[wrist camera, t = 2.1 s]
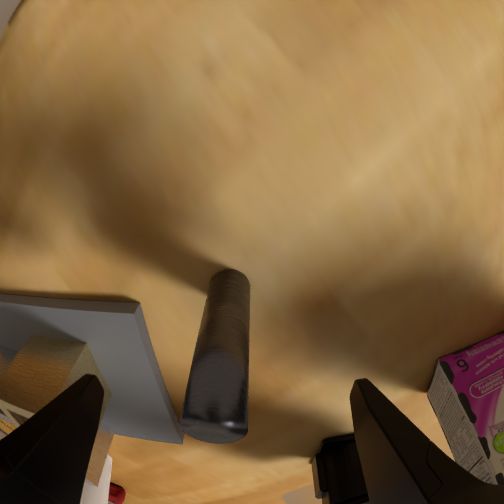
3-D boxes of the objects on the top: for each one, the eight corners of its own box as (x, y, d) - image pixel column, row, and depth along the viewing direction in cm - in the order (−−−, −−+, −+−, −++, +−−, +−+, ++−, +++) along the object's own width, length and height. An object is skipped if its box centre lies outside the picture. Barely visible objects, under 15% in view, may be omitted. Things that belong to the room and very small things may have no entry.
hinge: (86, 343, 15) (46, 417, 10) (136, 435, 20) (121, 493, 15) (-14, 324, 16) (-53, 372, 10) (41, 411, 20) (19, 456, 15)
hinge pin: (249, 269, 14) (246, 411, 7) (250, 303, 15) (248, 444, 8) (208, 269, 14) (173, 408, 7) (211, 303, 15) (186, 441, 8)
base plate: (139, 302, 15) (134, 313, 14) (184, 434, 21) (182, 444, 20) (-19, 291, 15) (-26, 297, 15) (47, 407, 21) (43, 414, 21)
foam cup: (92, 433, 23) (60, 535, 11) (139, 471, 27) (121, 558, 15) (41, 426, 24) (8, 506, 12) (86, 464, 28) (64, 536, 16)
